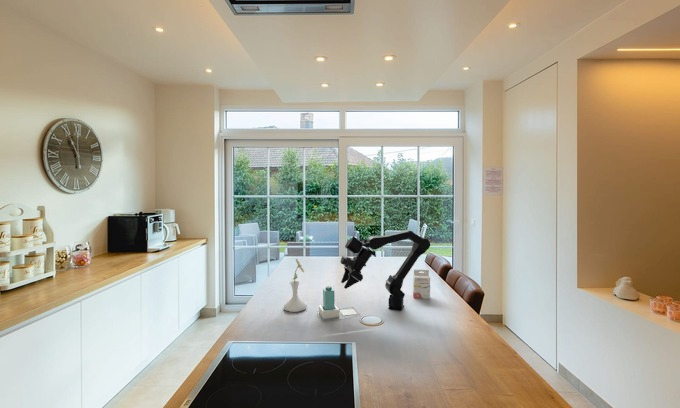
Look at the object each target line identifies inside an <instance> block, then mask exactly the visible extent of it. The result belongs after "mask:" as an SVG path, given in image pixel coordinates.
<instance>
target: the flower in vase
mask: <svg viewBox="0 0 680 408" xmlns="http://www.w3.org/2000/svg"><path fill="white" fill-rule="evenodd" d="M295 262H296V264H297V266H296V269H295V271H294V275H293V276H294V277H293V278H292V281H289V284H290V285H291V288H292V296H291V298H290V299H289V300H288V301H287V302H285V304H284V305H283V309H284V310H285V311H287V312H290V313H298V312H301V311H304V310H306V309H307V307H308V306H307V303H306V302H305V301H304V300H303V299H301V298H299V296H298V287H299V285H300V284H301V282H300V281H299V280H296V279H298V275H297V270H298V268H299V270H300V271H301V272H303V273H305V269H304V268H303V266H302V264H300V261H299V260H298V258H295Z"/></svg>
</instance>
